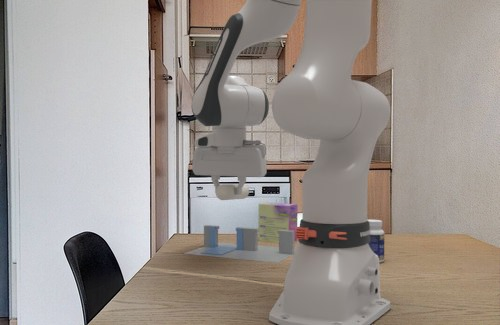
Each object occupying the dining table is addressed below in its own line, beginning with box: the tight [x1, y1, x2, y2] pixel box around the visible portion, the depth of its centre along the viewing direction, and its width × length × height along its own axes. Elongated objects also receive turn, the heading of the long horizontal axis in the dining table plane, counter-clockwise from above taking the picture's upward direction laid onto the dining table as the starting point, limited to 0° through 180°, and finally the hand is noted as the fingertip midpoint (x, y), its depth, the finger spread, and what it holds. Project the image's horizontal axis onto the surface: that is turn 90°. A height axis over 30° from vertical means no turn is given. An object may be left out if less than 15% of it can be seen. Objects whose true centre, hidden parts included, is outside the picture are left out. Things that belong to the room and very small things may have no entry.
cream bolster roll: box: [215, 183, 250, 201], centre depth 121 cm, size 12×4×4 cm, turn 157°
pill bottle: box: [367, 219, 385, 264], centre depth 112 cm, size 6×6×10 cm
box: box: [257, 202, 299, 244], centre depth 137 cm, size 10×6×12 cm, turn 58°
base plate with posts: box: [183, 224, 297, 264], centre depth 120 cm, size 18×26×7 cm
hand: (228, 193), depth 118 cm, fingers closed on cream bolster roll, 4 cm apart
